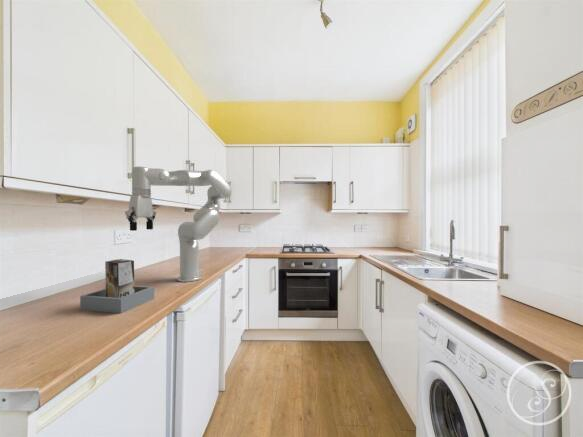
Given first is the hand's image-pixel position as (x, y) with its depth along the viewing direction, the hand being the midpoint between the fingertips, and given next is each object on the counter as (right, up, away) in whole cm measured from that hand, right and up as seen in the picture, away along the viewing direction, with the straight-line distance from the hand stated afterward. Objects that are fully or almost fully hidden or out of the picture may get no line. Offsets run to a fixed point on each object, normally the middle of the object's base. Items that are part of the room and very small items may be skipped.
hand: (141, 229), depth 117 cm
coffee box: (+2, -28, -18) cm, 33 cm away
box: (+2, -28, -19) cm, 34 cm away
